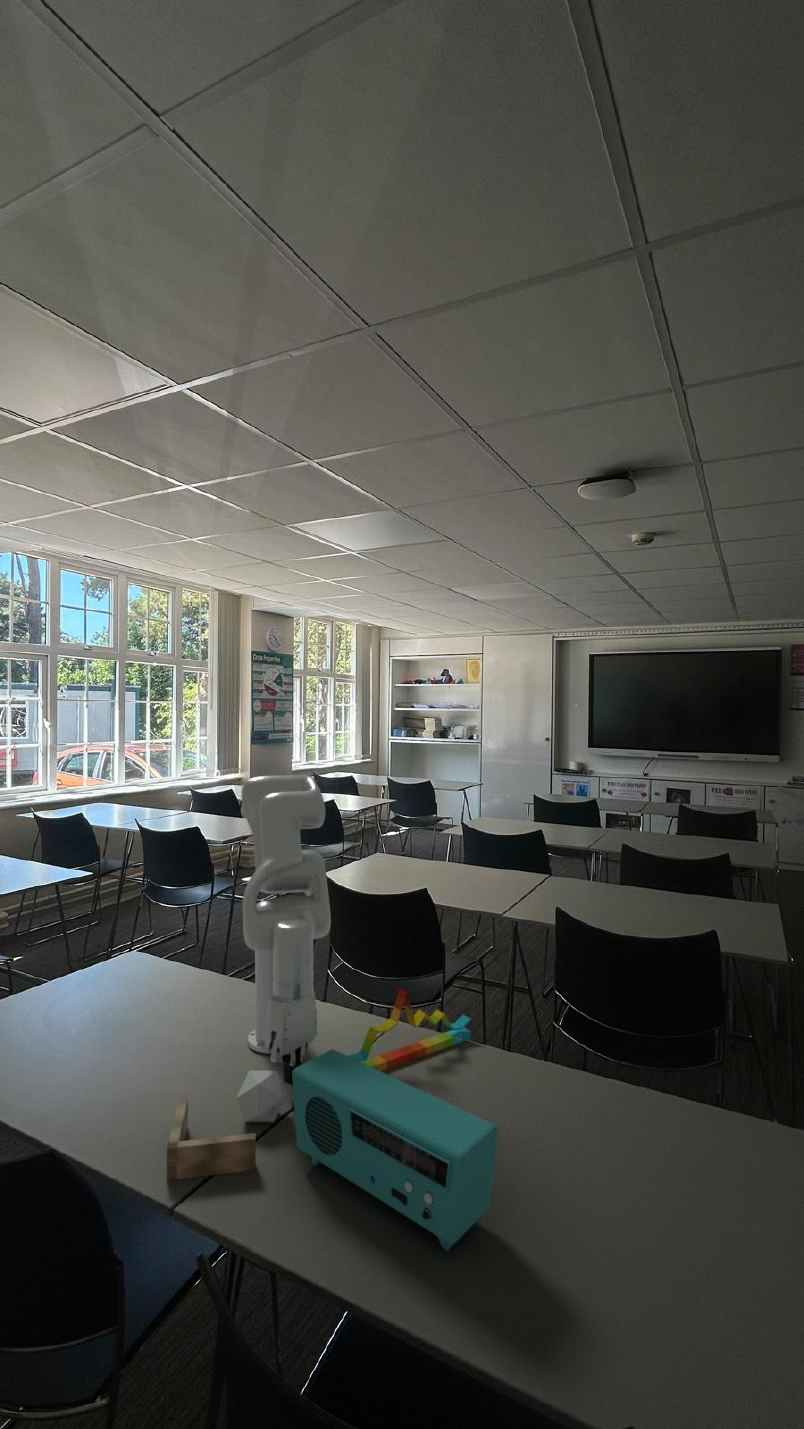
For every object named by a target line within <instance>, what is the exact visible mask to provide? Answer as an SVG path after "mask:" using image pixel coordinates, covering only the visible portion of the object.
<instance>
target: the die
mask: <svg viewBox="0 0 804 1429" xmlns="http://www.w3.org/2000/svg"><path fill="white" fill-rule="evenodd" d="M283 1084H284V1083H283V1082H282V1079H281V1077H280V1074H279V1072H278V1070H249V1071H248V1073H247V1075H246V1077H245V1079H244V1081H243V1083H242V1084H241V1088H240V1089H239V1092H238V1093H237V1095H236V1098H235V1100H236V1103H237V1105H238V1107H239V1110H240V1112H241V1114H242V1117H243V1119H244V1122H245V1123H275V1121H276V1119H277V1117H278V1113H279V1111H280V1109H281V1107H282V1104H283V1102H284V1100H285V1098H286V1095H287V1092H286V1089H285V1087H284V1085H283Z"/></svg>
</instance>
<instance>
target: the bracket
mask: <svg viewBox="0 0 804 1429" xmlns="http://www.w3.org/2000/svg"><path fill="white" fill-rule="evenodd" d="M188 1104H189V1101H188V1098H183V1099H178V1102H177V1106H176V1110H175V1113H174V1114H175V1115H174V1119H173V1122H172V1126H171V1130H170V1134H169V1139H168V1142H167V1147H166V1181H173V1180H175V1181H176V1180H184V1179H191V1178H201V1177H207V1176H214V1175H216V1176H217V1175H224V1174H234V1173H242V1172H249V1171H250V1172H251V1171H256V1163H257V1162H256V1158H257V1157H256V1156H257V1155H256V1152H257V1151H256V1148H257V1147H256V1146H257V1145H256V1144H257V1140H256V1139H257V1136H256V1132H252V1133H243V1134H236V1135H235V1134H233V1135H226V1136H225V1135H224V1136H217V1137H206V1138H200V1139H199V1138H198V1139H190V1140H186V1137H187V1136H186V1135H187V1132H188V1127H189V1125H188V1124H189V1122H188V1121H189V1120H188V1118H189V1113H188V1112H189V1111H188V1110H189V1107H188V1106H189V1105H188Z"/></svg>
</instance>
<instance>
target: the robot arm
mask: <svg viewBox="0 0 804 1429" xmlns="http://www.w3.org/2000/svg"><path fill="white" fill-rule="evenodd" d="M241 800H242V801H241V802H242V803H241V804H242V809H243V812H244V815H245V818H246V821H247V823H248V826H249V828H250V830H251V834H252V838H253V847H254V848H253V849H254V865H255V866H254V867H255V871H254V873H253V874H252V875H251V877H250V878H249V880H248V881H247V884H246V886H245V888H244V892H243V897H242V925H243V927H242V929H243V939H244V942H245V944H246V946H247V948H249V949H250V950H252V951H254V961H255V962H254V973H255V974H254V975H255V978H254V982H255V984H254V985H255V986H254V988H255V989H254V992H255V993H254V1003H255V1005H254V1007H255V1009H254V1029H253V1030H252V1031H251V1032H250V1033H249V1035H248V1036H247V1045H248V1047H249V1048H251V1050H252V1051H255V1052H257V1053H260V1054H267V1055H270V1061H271V1062H273V1063H275V1064H277V1063H283V1082H284V1083H285V1084H288V1085H290V1086H292V1087H293V1079H292V1073H293V1070H294V1069H295V1068H297V1067H299V1066H301V1065H302V1064H303V1061H304V1059H305V1055H306V1051H307V1049H308V1046H309V1045H311V1043H313V1042H314V1040H315V1037H316V1036H317V1031H318V1010H317V1001H316V992H315V990H314V977H315V974H314V940H317V939H321V938H324V937H325V936H327V935H328V934H329V932H330V929H331V922H332V920H331V919H332V918H331V917H332V916H331V907H330V896H329V888H328V879H327V872H326V871H327V870H326V866H325V865H326V863H325V860H324V858H323V856H322V855H321V853H320V852H319V851H317V850H314V849H302V842H301V841H302V840H301V830H305V829H306V830H309V829H318V828H320V827H322V826H323V825H324V823H325V819H326V806H325V804H326V803H325V800H324V797H323V795H322V792H321V789H320V787H319V785H318V783H317V781H316V779H315V778H314V777H313V776H312V775H307V774H290V775H288V774H287V775H281V774H280V775H279V774H278V775H277V774H276V775H260V776H255V777H251V778H248V779H246V781H244V783H243V785H242V788H241ZM259 892H261V893H264V894H269V895H270V894H271V895H272V894H273V895H275V894H289V893H305V895H301V896H299V895H297V896H285V897H284V896H283V897H273V898H267V899H264V900H261V901H259V902H257V900H258V896H259V895H258V894H259Z"/></svg>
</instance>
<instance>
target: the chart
mask: <svg viewBox="0 0 804 1429" xmlns="http://www.w3.org/2000/svg"><path fill="white" fill-rule="evenodd" d="M403 1008H405V1013H406V1016H407V1020H408V1024H409V1025H411V1026H412V1027H414V1028H415V1029H418V1028H419V1026H420V1025H421V1023H422V1022H423V1020H424V1019H426V1020H427V1021H428V1022H430V1023H431V1024H432V1025H435V1026H436V1025H437V1024H438V1023H439V1022H440V1021H441V1020H442V1022H443V1024H444V1025H445V1027H448V1028H449V1029H450V1030H448V1031H445V1032H442V1033H438V1034H437V1035H436V1034H435V1035H433V1036H430V1037H428V1038H425V1039H422V1040H420V1041H419V1040H418V1041H417V1042H413V1043H410V1044H408V1045H405V1046H402V1047H399V1048H397V1049H394V1050H391V1051H388V1052H385V1053H382V1054H379V1055H376V1056H373V1057H371V1058H368V1057H369V1055H370V1052H371V1051H372V1048H373V1045H374V1043H375V1039H376V1037H377V1034H381V1033H388V1032H390V1031H391V1030H392V1029H394V1028H395V1027H396V1026H398V1024H399V1020H400V1017H401V1014H402V1011H403ZM471 1019H472V1018H470V1017H468V1016H467V1015H465V1014H462V1015H461V1016H460V1017H459V1018H458V1019H457V1020H456V1021H455V1022H453V1023H451V1022H450V1020H449V1019H448V1017H447V1015H446V1014H445V1013H444V1012H442V1011H440V1010H439V1009H436V1010H435V1011H433V1013H432V1014H431V1015H430V1016H429V1015H428V1014H427V1013H426V1012H424V1011H422V1010H421V1009H418V1010H417V1011H416V1013H415V1014H414V1011H413V1009H412V1005H411V1001H410V997H409V993H408V991H406V990H404V989H403V988H402V987H400V988H399V989H398V993H397V997H396V999H395V1002H394V1006H393V1009H392V1011H391V1014H390V1017H389V1018H388V1019H387V1020H386V1021H385V1022H383V1023H382V1024H380V1025H373V1026H369V1029H368V1030H367V1034H366V1036H365V1038H364V1041H363V1043H362V1045H361V1049H360V1051H359V1053H353V1054H349V1055H348V1057H350V1058H353V1059H355V1060H357V1061H359V1062H361V1063H363V1064H365V1065H367V1066H370V1067H372V1068H374V1069H376V1070H378V1071H380V1072H384V1071H386V1070H387V1071H388V1070H390V1069H393V1068H394V1067H398V1066H399V1065H400V1066H401V1065H403V1064H406V1063H408V1062H409V1063H410V1062H412V1061H414V1060H417V1059H419V1058H422V1057H426V1056H427V1055H430V1054H433V1053H436V1052H438V1051H441V1050H444V1049H447V1048H449V1047H452V1046H456V1045H457V1044H461V1043H463V1042H465V1041H464V1040H466V1041H469V1040H471V1038H472V1037H471V1034H472V1033H471V1030H469V1029H467V1028H466V1026H467V1025H468V1023H469V1022H471ZM446 1036H448V1037H446ZM452 1037H453V1038H452ZM455 1038H458V1039H455ZM459 1039H462V1040H459Z"/></svg>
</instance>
